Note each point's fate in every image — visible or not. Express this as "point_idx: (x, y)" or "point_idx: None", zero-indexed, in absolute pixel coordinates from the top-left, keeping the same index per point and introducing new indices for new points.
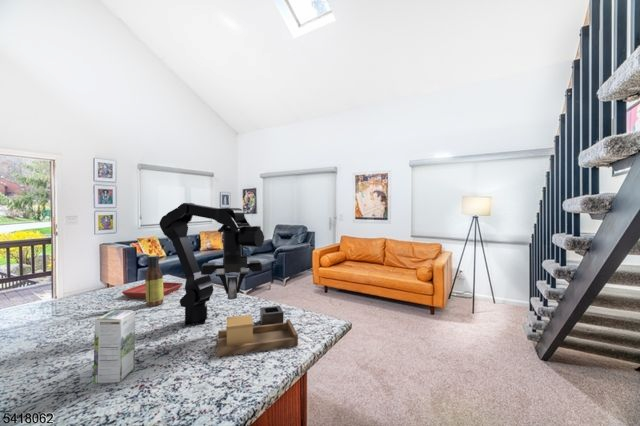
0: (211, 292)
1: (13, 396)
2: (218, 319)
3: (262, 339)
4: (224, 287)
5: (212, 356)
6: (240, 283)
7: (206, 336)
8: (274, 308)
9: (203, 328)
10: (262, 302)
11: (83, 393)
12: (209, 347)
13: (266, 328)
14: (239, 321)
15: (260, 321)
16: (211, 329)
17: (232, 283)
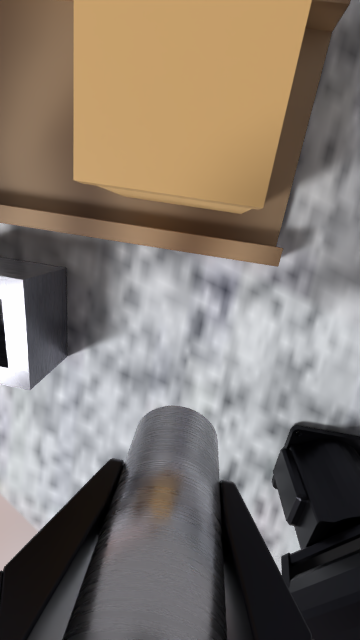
0: (300, 606)
1: None
2: (229, 439)
3: None
4: (277, 573)
5: (351, 32)
6: (14, 575)
7: (316, 295)
8: None
9: (307, 383)
10: (41, 511)
11: None
12: (335, 161)
13: (40, 210)
14: (185, 43)
15: (66, 341)
16: (278, 358)
17: (152, 618)
